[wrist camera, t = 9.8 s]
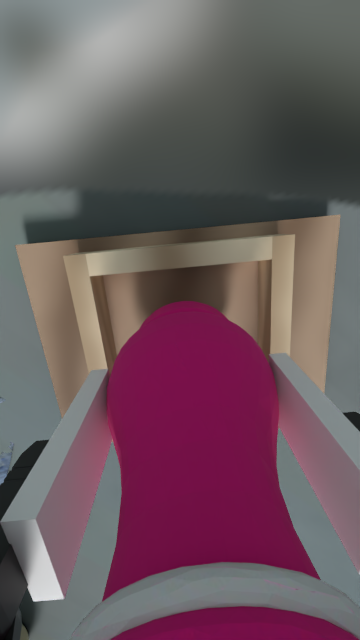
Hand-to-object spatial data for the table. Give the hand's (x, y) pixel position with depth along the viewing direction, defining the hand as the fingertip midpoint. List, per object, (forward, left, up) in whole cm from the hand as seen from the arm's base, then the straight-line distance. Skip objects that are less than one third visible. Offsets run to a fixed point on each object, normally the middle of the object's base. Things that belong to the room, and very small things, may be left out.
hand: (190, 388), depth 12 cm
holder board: (0, 0, -8) cm, 8 cm away
